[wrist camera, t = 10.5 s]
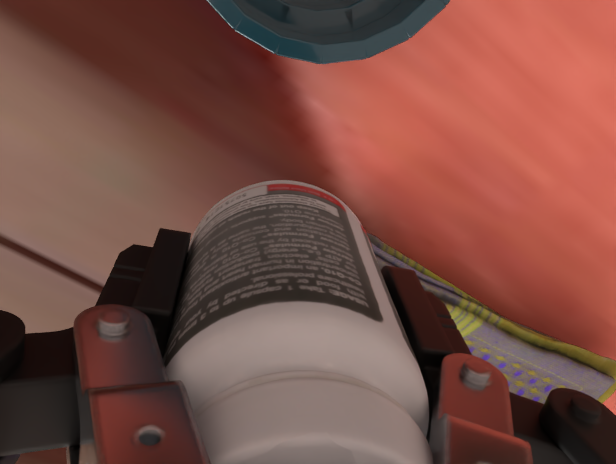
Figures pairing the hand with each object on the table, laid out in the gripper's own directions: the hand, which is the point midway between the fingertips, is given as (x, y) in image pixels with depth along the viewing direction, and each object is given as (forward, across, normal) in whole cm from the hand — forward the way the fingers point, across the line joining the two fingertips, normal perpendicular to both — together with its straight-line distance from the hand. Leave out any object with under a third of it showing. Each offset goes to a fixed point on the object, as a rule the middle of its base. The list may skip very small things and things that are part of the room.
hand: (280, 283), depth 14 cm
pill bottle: (+1, 0, 0) cm, 1 cm away
